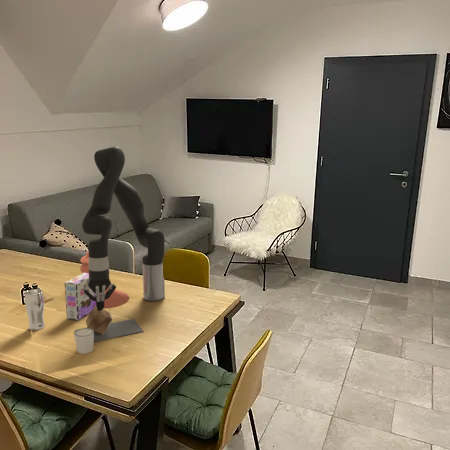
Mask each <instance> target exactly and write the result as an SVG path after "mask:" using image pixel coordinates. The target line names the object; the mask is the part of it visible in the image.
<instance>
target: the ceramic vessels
mask: <svg viewBox="0 0 450 450" xmlns="http://www.w3.org/2000/svg"><path fill="white" fill-rule="evenodd" d="M79 260H80V263H81V265H80V268H79V269H80V272H81V274H83V273H89V267H88V260H89V250H88V251H86V255H84V256H82V257H81V258H80V259H79ZM108 289H109V287H108ZM108 289H107V290H106V291H105V294H106V292H107V291H108ZM99 294H100V293H99ZM129 301H130V296H129V294H127V293H126V292H123V291H121V290H118V289H117V288H116V289H115V290H114V292H113V293H112V294H111V296H110V297H109V298H108V299H105V300H104V308H103V309H104V310H106V309H113V308H114V309H115V308H117V307H121V306H123V305H125V304H127V303H128V302H129Z"/></svg>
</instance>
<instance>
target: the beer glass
mask: <svg viewBox="0 0 450 450" xmlns="http://www.w3.org/2000/svg"><path fill="white" fill-rule="evenodd" d="M24 305H25V310H26V314H27V317H28V330H30V331H39V330H43V328H45V326H46V324H45V321H44V311H45V310H44V309H45V298H44V292H43V290H42V289H40V288H36V289H35V288H34V289H29V290H27V291H25V292H24Z"/></svg>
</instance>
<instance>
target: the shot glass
mask: <svg viewBox="0 0 450 450" xmlns="http://www.w3.org/2000/svg"><path fill="white" fill-rule="evenodd" d="M83 328H84V329H82V328H79V329H80V330H77V329H76V330H77V331H76V332H75V331H74V333H73V334H74V342H75V346H76V352H77V353H79V354H83V355H84V354H85V355H86V354H89V353H92V352H93V350H94V343H95V342H94V330H93V329H89V328H87V327H83Z"/></svg>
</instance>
